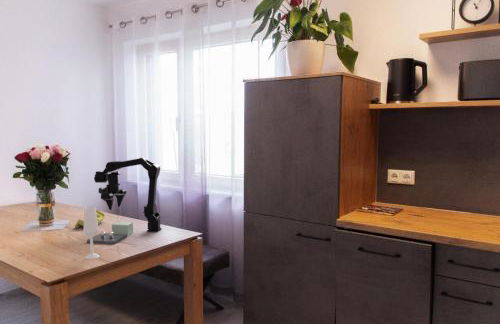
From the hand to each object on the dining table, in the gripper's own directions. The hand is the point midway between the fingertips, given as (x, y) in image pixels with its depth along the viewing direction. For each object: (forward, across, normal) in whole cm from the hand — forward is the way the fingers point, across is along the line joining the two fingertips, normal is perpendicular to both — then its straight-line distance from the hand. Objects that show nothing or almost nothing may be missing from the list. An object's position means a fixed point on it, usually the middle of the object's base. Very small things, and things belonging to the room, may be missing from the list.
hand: (114, 208), depth 231 cm
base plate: (+13, +20, +7) cm, 25 cm away
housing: (+13, +7, +8) cm, 17 cm away
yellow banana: (+13, -8, -22) cm, 27 cm away
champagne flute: (+14, +46, +15) cm, 50 cm away
